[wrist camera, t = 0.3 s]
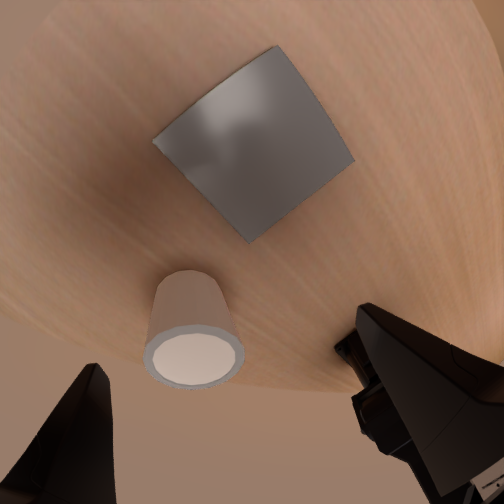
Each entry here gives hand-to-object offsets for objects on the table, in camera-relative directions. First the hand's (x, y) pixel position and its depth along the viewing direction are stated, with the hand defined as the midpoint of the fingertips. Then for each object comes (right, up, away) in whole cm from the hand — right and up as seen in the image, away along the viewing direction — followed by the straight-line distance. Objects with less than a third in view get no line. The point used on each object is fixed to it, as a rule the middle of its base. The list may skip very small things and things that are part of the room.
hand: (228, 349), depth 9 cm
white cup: (-5, -1, +15) cm, 16 cm away
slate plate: (+1, +10, +10) cm, 14 cm away
